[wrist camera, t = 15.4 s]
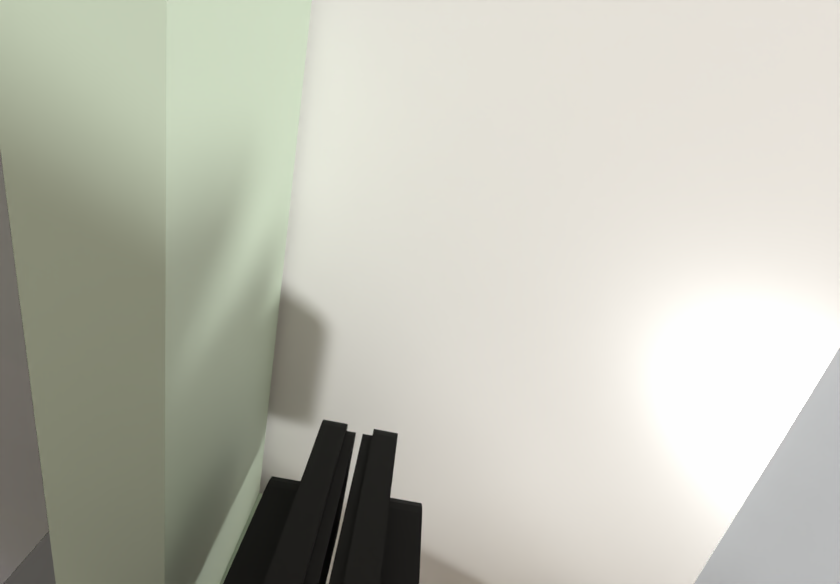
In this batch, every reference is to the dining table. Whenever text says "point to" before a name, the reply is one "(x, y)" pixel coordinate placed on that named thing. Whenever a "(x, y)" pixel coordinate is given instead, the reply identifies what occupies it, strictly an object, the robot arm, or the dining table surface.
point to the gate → (150, 266)
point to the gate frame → (559, 270)
